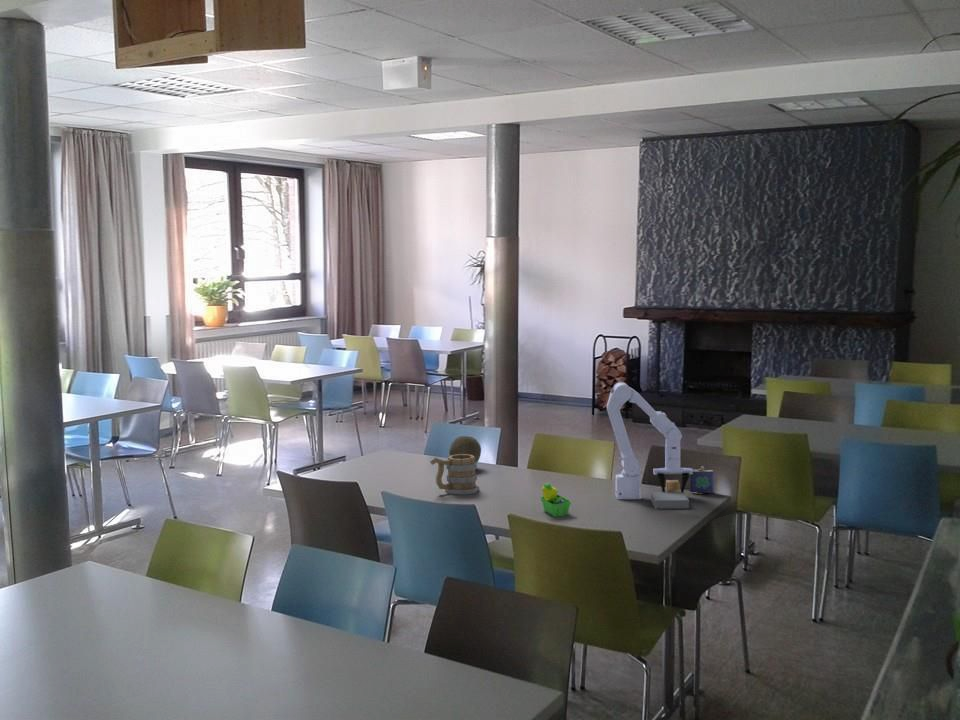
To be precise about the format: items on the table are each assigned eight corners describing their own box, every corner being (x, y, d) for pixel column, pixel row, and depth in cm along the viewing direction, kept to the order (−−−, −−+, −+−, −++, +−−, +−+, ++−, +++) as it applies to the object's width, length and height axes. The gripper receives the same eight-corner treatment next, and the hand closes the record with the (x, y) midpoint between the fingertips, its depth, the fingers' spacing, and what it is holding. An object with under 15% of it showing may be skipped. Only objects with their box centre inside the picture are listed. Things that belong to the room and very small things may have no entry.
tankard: (469, 485, 362) (469, 449, 361) (483, 492, 351) (482, 455, 349) (424, 491, 354) (423, 455, 352) (436, 498, 342) (435, 460, 341)
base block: (655, 508, 320) (655, 500, 320) (651, 500, 332) (650, 492, 332) (689, 508, 320) (689, 500, 319) (683, 499, 332) (683, 492, 331)
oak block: (667, 498, 335) (667, 482, 334) (666, 495, 339) (665, 480, 339) (679, 498, 334) (679, 482, 334) (677, 495, 339) (677, 480, 338)
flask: (713, 492, 342) (713, 465, 341) (714, 494, 339) (714, 466, 338) (689, 492, 343) (689, 465, 342) (690, 494, 340) (690, 467, 339)
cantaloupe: (481, 472, 386) (481, 438, 385) (449, 473, 386) (448, 439, 384) (481, 465, 400) (480, 433, 399) (450, 466, 400) (449, 434, 398)
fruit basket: (572, 515, 313) (571, 484, 312) (549, 518, 310) (549, 487, 309) (558, 508, 324) (558, 478, 323) (536, 510, 321) (536, 480, 320)
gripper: (690, 455, 339) (690, 489, 340) (652, 455, 340) (652, 490, 341) (693, 459, 332) (693, 494, 333) (654, 459, 333) (654, 494, 334)
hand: (672, 492), depth 337 cm, fingers open, 6 cm apart
